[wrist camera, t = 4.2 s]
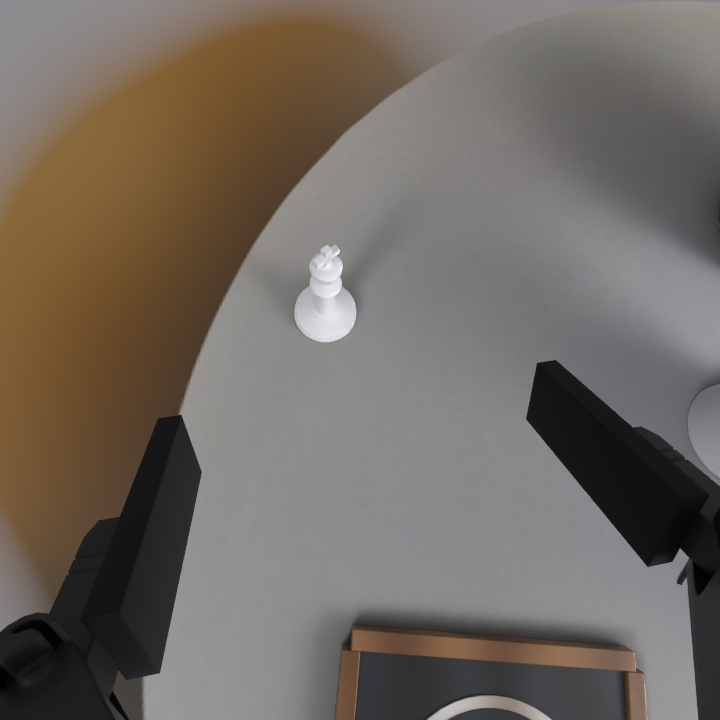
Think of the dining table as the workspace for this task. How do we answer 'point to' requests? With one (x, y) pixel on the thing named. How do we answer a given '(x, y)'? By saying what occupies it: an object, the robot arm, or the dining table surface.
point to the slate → (484, 678)
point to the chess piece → (325, 300)
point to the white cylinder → (706, 427)
